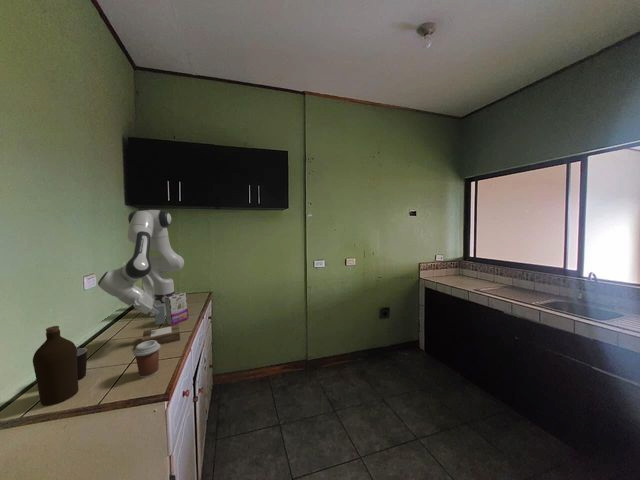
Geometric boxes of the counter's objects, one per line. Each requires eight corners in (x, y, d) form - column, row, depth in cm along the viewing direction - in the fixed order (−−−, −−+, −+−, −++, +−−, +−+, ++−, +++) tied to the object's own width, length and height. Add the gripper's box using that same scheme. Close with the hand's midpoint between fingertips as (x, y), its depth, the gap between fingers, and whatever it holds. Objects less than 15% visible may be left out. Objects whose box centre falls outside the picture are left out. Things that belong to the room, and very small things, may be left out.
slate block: (156, 322, 132) (154, 305, 132) (165, 320, 134) (163, 303, 134) (155, 324, 129) (154, 307, 128) (165, 322, 131) (163, 305, 130)
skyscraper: (141, 310, 179) (138, 271, 177) (144, 307, 186) (141, 269, 184) (155, 308, 182) (152, 270, 180) (158, 305, 189) (155, 268, 187)
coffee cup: (129, 380, 98) (126, 350, 97) (146, 366, 107) (144, 338, 106) (152, 380, 97) (149, 349, 96) (167, 366, 106) (165, 338, 106)
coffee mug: (95, 373, 103) (92, 349, 102) (68, 386, 95) (66, 361, 94) (75, 369, 107) (72, 346, 106) (48, 382, 98) (45, 357, 98)
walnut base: (144, 338, 134) (143, 330, 134) (179, 330, 142) (178, 323, 142) (142, 349, 122) (141, 340, 122) (180, 340, 131) (179, 332, 130)
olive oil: (60, 406, 84) (52, 333, 83) (28, 408, 84) (18, 335, 82) (89, 386, 95) (82, 320, 93) (60, 387, 95) (52, 322, 93)
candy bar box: (183, 317, 162) (181, 292, 161) (188, 318, 160) (186, 293, 159) (166, 324, 152) (164, 297, 151) (171, 325, 150) (169, 298, 149)
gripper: (136, 295, 117) (163, 312, 123) (140, 287, 135) (163, 301, 141) (125, 307, 115) (153, 323, 121) (131, 296, 133) (154, 311, 139)
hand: (158, 311), depth 131 cm, fingers closed on slate block, 4 cm apart
